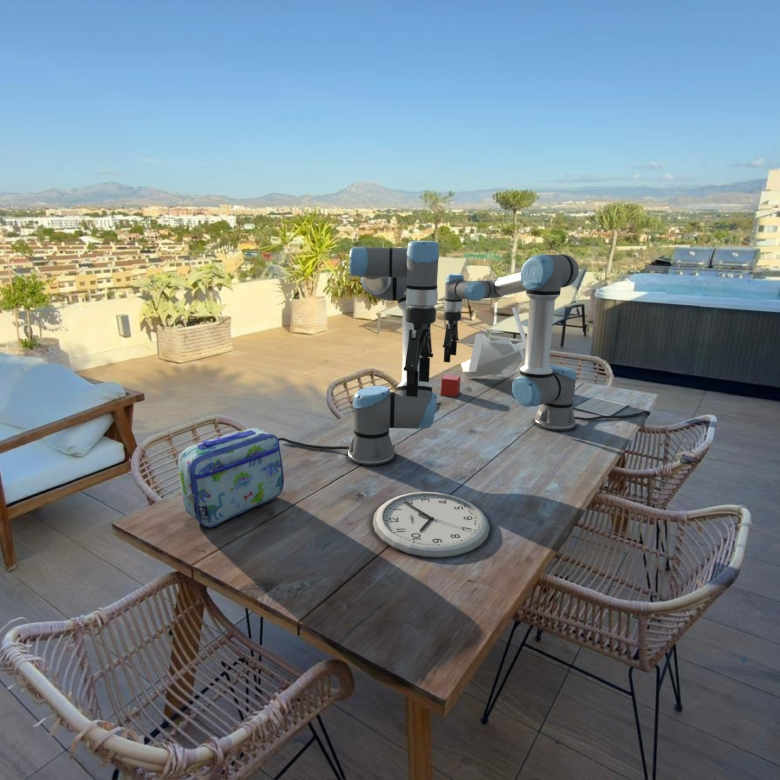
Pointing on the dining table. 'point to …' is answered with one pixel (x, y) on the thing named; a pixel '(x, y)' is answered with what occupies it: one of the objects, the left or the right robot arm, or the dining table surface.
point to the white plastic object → (494, 354)
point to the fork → (437, 400)
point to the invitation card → (601, 406)
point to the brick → (450, 385)
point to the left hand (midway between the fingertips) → (418, 388)
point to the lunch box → (230, 475)
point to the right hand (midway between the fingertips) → (450, 358)
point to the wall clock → (431, 524)
